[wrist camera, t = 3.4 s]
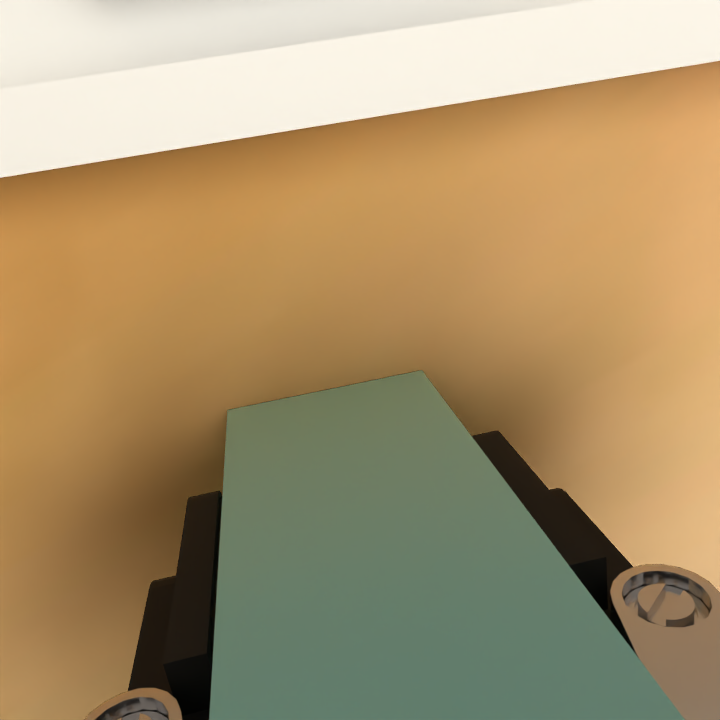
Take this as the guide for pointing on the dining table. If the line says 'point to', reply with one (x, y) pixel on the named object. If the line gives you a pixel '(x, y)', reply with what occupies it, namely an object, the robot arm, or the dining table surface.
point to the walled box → (301, 64)
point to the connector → (398, 576)
